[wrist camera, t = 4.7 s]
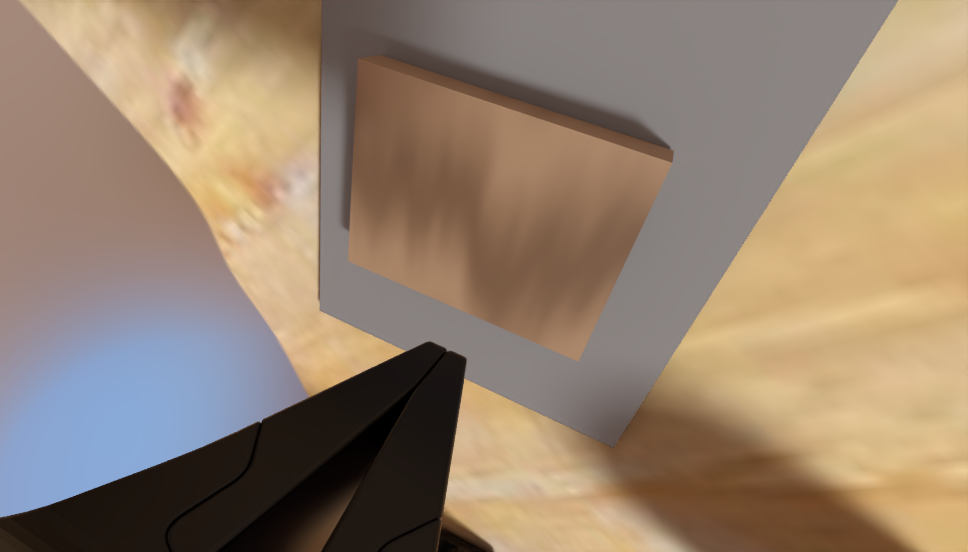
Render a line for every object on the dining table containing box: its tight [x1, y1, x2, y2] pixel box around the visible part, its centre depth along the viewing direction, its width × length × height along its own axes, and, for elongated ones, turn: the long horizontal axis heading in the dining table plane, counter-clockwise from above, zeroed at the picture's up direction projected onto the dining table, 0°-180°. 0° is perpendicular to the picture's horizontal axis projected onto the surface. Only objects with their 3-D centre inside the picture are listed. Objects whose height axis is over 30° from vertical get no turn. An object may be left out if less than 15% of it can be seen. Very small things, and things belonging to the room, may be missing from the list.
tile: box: [348, 55, 674, 361], centre depth 14 cm, size 7×1×9 cm
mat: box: [320, 0, 898, 448], centre depth 15 cm, size 16×14×1 cm
